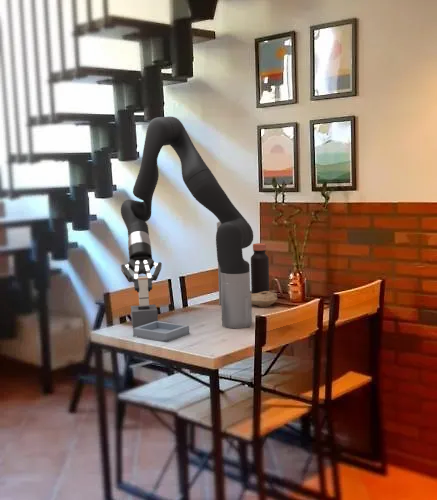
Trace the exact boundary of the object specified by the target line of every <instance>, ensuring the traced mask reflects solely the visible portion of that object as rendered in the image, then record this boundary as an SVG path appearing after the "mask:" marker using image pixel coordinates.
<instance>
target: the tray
mask: <svg viewBox="0 0 437 500" xmlns="http://www.w3.org/2000/svg"><path fill="white" fill-rule="evenodd" d="M132 333H133V334H132V337H134V336H137V337H136V338H140V337H141V338H142V339H145V338H147V339H146V340H151V339H152V340H153V341H158V342H164V343H168V342H171V341H173V340H176V339H178V338H179V339H180V338H181V337H184V336H187V335H189V334H190V325H188V324H187V325H186V324H181V323H175V322H174V323H173V322H166V321H160V320H158V321H154V322H151V323H148V324H145V325H142V326H139V327H136V328H133V327H132Z"/></svg>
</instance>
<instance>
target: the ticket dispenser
mask: <svg viewBox="0 0 437 500" xmlns="http://www.w3.org/2000/svg"><path fill="white" fill-rule="evenodd" d="M130 311H131V312H130V314H131V315H130V316H131V317H130V318H131V327H132V326H133V327H132V329H133V328H136V327H139V326H142V325H145V324H148V323H151V322H154V321H159V320H158V319H159V318H158V308H157V305H156V304H149V305H146V306H140V305H130Z"/></svg>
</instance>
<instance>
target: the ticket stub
mask: <svg viewBox="0 0 437 500" xmlns="http://www.w3.org/2000/svg"><path fill="white" fill-rule="evenodd" d="M138 284H139V292H138V304H139V305H140V306H146V305H150V296H149V295H150V294H149V293H150V292H148V277H147V276H146V275H139V276H138Z"/></svg>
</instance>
